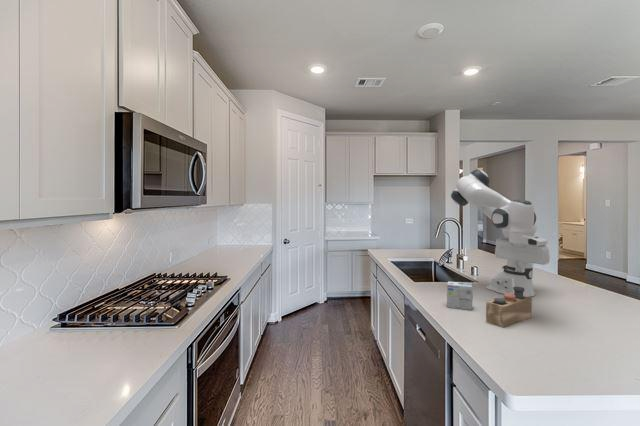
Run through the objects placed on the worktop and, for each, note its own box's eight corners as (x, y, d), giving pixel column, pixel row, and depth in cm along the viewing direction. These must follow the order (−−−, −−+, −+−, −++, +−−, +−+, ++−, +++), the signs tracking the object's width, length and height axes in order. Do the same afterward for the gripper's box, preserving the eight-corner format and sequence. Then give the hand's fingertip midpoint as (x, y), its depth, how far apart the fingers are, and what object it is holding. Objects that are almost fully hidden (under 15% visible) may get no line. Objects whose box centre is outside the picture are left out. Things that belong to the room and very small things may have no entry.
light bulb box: (472, 306, 149) (472, 283, 148) (472, 310, 143) (472, 286, 142) (447, 303, 153) (447, 280, 153) (446, 307, 147) (446, 284, 147)
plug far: (510, 306, 136) (511, 287, 136) (516, 304, 138) (516, 286, 138) (520, 308, 133) (521, 289, 133) (525, 307, 135) (526, 288, 135)
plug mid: (501, 313, 133) (502, 294, 132) (506, 311, 135) (507, 293, 134) (511, 316, 129) (512, 297, 129) (516, 314, 131) (517, 295, 131)
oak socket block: (485, 321, 130) (486, 302, 129) (514, 312, 141) (514, 293, 140) (503, 327, 124) (503, 307, 123) (531, 316, 135) (531, 298, 134)
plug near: (491, 318, 129) (492, 298, 129) (497, 316, 131) (497, 297, 131) (501, 321, 126) (502, 301, 125) (507, 319, 128) (507, 299, 127)
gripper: (492, 236, 141) (491, 268, 142) (544, 242, 124) (543, 277, 124) (500, 235, 144) (499, 266, 145) (551, 240, 127) (550, 275, 128)
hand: (520, 271), depth 135 cm, fingers closed
